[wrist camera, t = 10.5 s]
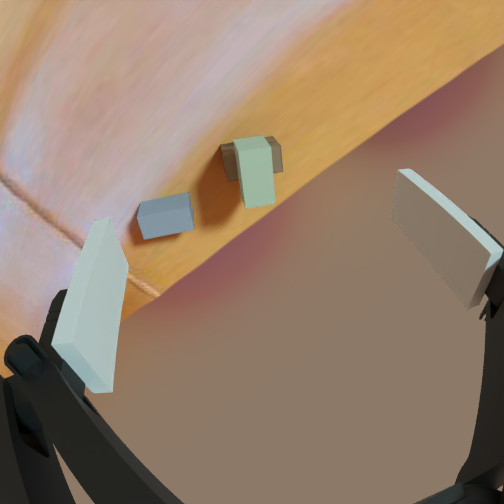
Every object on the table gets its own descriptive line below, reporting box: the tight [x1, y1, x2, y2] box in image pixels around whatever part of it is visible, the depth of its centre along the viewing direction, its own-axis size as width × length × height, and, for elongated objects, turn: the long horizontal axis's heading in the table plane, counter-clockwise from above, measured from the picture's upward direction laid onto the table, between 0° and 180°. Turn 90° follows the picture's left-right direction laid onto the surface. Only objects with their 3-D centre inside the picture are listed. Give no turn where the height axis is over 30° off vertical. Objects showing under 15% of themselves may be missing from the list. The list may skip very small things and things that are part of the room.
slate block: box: [137, 192, 194, 240], centre depth 49 cm, size 8×4×5 cm, turn 96°
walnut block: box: [220, 136, 283, 181], centre depth 46 cm, size 8×4×5 cm, turn 97°
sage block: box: [233, 136, 275, 209], centre depth 42 cm, size 8×4×5 cm, turn 6°
